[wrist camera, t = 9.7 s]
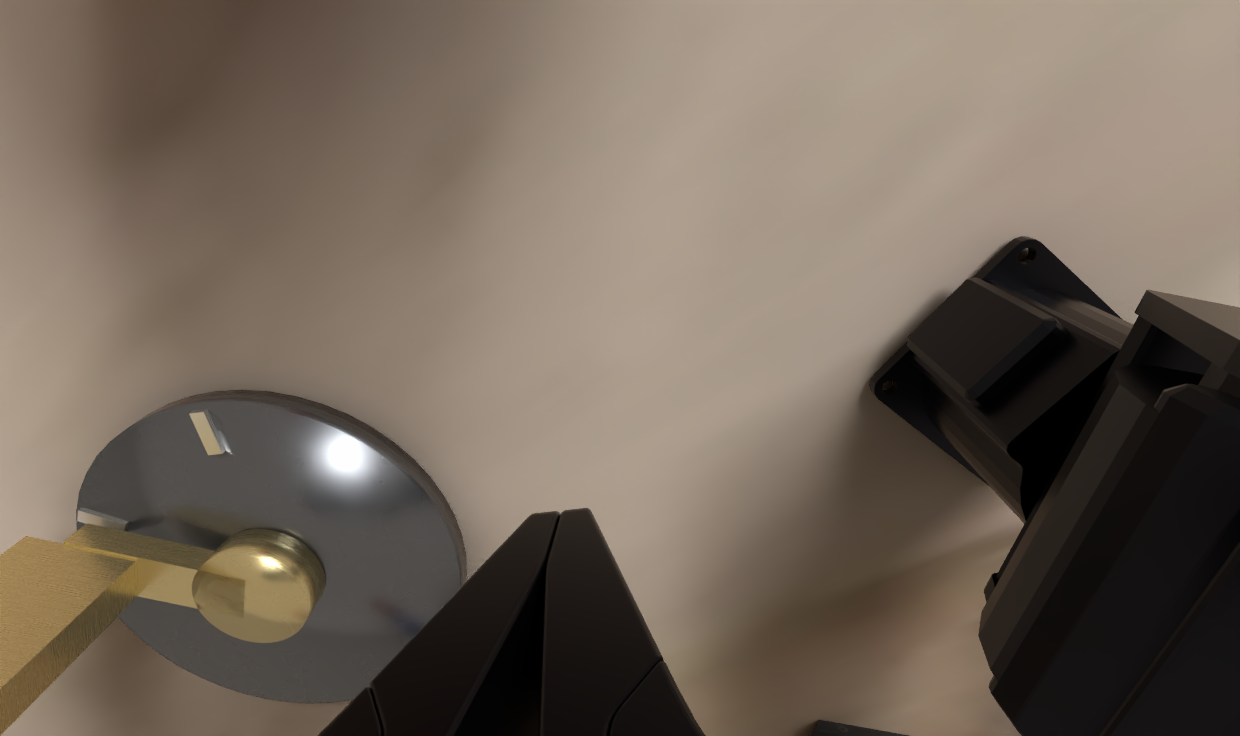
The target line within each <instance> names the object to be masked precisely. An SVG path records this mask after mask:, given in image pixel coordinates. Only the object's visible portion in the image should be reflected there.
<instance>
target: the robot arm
mask: <svg viewBox="0 0 1240 736" xmlns="http://www.w3.org/2000/svg"><path fill="white" fill-rule="evenodd" d="M1025 248H1028V254H1027V256H1026V257H1025V258H1024V259H1023V260H1021V261H1019V260H1018V257H1019V254H1020V252H1021V251H1022V250H1023V249H1025ZM1135 313H1136V314H1137V315H1139V316H1138V318H1137V320H1136V322H1135V324H1134V325H1133V324H1131V323H1128V322H1126V321H1124V320H1123V319H1121V318H1120V317H1119V316H1118V315H1117V314H1116V313H1115V312H1114V311H1113V310H1112V309H1111V308H1110V307H1109V306H1108V305H1107V304H1106V303H1105V302H1103V301H1102V300H1101V299H1100V298H1099V297H1098V296H1097V295H1096V294H1095V293H1094V292H1093V291H1092V290H1091V289H1090V288H1089V287H1088V286H1087V285H1086V284H1084V283H1083V282H1082V281H1081V280H1080V279H1079V278H1078V277H1077V276H1076V275H1075V274H1074V273H1073V272H1072V271H1071V270H1070V269H1069V268H1068V267H1066V266H1065V265H1064V264H1063V263H1062V262H1061V261H1060V260H1059V259H1058V258H1057V257H1056V256H1055V255H1054V254H1053V253H1052V252H1051V251H1050V250H1048V249H1047V248H1046V247H1045V246H1044V245H1043V244H1042V243H1041V242H1039V241H1037V240H1036V239H1033V238H1030V237H1023V236H1021V237H1018V238H1015V239H1013V240H1012V241H1011V242H1009V243H1008V244H1007V245H1006V246H1005V247H1004V248H1003V249H1002V250H1001V251H1000V252H999V253H998V254H997V255H996V256H995V257H994V258H993V259H992V260H991V261H990V262H989V263H988V264H987V265H986V266H985V267H984V268H983V269H982V270H981V271H980V272H978V273H977V274H976V275H975V276H974V277H973V278H972V279H968V280H966V281H965V282H964V283H963V284H962V285H961V286H960V287H959V288H958V289H957V290H956V291H955V292H954V293H953V294H952V295H950V296H949V297H948V298H947V299H946V300H945V301H944V302H943V303H942V304H941V305H940V306H939V307H938V308H937V309H936V310H935V311H934V312H933V313H932V314H931V315H930V316H929V317H928V318H927V319H926V320H925V321H924V322H923V323H922V324H921V325H920V326H919V327H918V328H917V329H916V330H915V331H914V332H913V333H912V334H911V335H910V336H909V337H908V342H907V343H906V344H905V345H904V346H903V347H902V348H901V349H900V350H899V351H898V352H897V353H896V354H895V355H894V356H893V357H892V358H891V359H890V360H889V361H888V362H887V363H886V364H885V365H884V366H883V367H881V368H880V369H879V370H878V371H877V372H876V373H875V374H874V376H873V377H872V378H871V381H870V389H871V391H872V392H873V393H874V394H875V396H876V397H877V398H878V399H879V400H880V401H881V402H883V403H884V404H885V405H886V406H888V407H889V408H890V409H892V410H893V411H894V412H895V413H897V414H898V415H899V416H901V417H902V418H903V419H904V420H906V421H907V422H908V423H909V424H911V425H912V426H913V427H915V428H916V429H917V430H918V431H920V432H921V433H922V434H924V435H925V436H926V437H927V438H929V439H930V440H931V441H932V442H934V443H935V444H936V445H938V446H939V447H940V448H941V449H943V450H944V451H945V452H947V453H948V454H949V455H950V456H952V457H953V458H954V459H955V460H957V461H958V462H959V463H961V464H962V465H963V466H964V467H966V468H967V469H968V470H969V471H971V472H972V473H973V474H975V475H976V476H977V477H978V478H980V479H981V480H982V481H984V482H985V483H986V484H987V485H989V486H990V487H991V488H992V489H993V490H994V491H995V492H996V493H997V494H998V496H999V497H1000V498H1001V499H1002V500H1003V501H1004V502H1005V503H1006V504H1007V505H1008V506H1009V508H1010V509H1011V510H1012V511H1013V512H1014V513H1015V514H1016V515H1017V516H1018V517H1019V518H1020V519H1021V521H1022V522H1023V523H1024V526H1023V528H1022V530H1021V532H1020V534H1019V535H1018V537H1017V539H1016V541H1015V543H1014V544H1013V546H1012V548H1011V550H1010V552H1009V554H1008V555H1007V557H1006V559H1005V561H1004V563H1003V565H1002V566H1001V568H1000V570H999V572H998V573H994V574H992V575H991V577H990V579H989V581H988V583H987V585H986V587H985V588H984V594H985V598H986V602H987V603H986V605H985V607H984V608H983V610H982V613H981V620H980V628H979V635H978V636H979V639H980V642H981V644H982V647H983V650H984V653H985V656H986V659H987V661H988V664H989V667H990V670H991V671H992V673H993V675H994V676H993V678H992V679H991V681H990V684H989V689H990V691H991V694H992V695H993V697H994V698H995V700H996V702H997V703H998V704H999V706H1000V707H1001V708H1002V710H1003V711H1004V713H1005V714H1006V715H1007V717H1008V718H1009V719H1010V721H1011V722H1012V724H1013V725H1014V726H1015V728H1016V729H1017V730H1018V732H1019V733H1020V734H1021V735H1022V736H1240V308H1239V307H1234V306H1229V305H1223V304H1218V303H1213V302H1208V301H1203V300H1198V299H1193V298H1188V297H1183V296H1178V295H1173V294H1167V293H1162V292H1157V291H1152V290H1146V292H1145V294H1144V296H1143V298H1142V300H1141V301H1140V303H1139V305H1138V307H1137V309H1136V311H1135ZM887 381H893V384H892V386H891V387H890V388H888V389H886V390H882V386H883V384H884V383H886V382H887ZM370 688H371V689H370ZM318 736H705V734H704V733H703V731H702V730H701V728H700V727H699V725H698V723H697V722H696V720H695V719H694V717H693V715H692V713H691V711H690V709H689V707H688V706H687V704H686V702H685V700H684V698H683V696H682V694H681V693H680V691H679V689H678V687H677V685H676V683H675V681H674V679H673V677H672V675H671V673H670V671H669V669H668V667H667V665H666V663H665V662H664V660H663V657H662V655H661V653H660V651H659V649H658V647H657V645H656V643H655V641H654V639H653V637H652V635H651V633H650V631H649V629H648V627H647V625H646V623H645V620H644V618H643V616H642V614H641V612H640V610H639V608H638V606H637V604H636V602H635V600H634V598H633V596H632V594H631V592H630V590H629V588H628V586H627V584H626V581H625V579H624V577H623V575H622V573H621V571H620V569H619V567H618V565H617V563H616V561H615V559H614V557H613V555H612V553H611V551H610V549H609V547H608V545H607V543H606V540H605V538H604V536H603V534H602V532H601V530H600V528H599V526H598V524H597V522H596V520H595V518H594V516H593V514H592V512H591V510H590V509H588V508H582V509H572V510H565V511H563V512H562V513H561V514H560V513H559V512H557V511H553V512H543V513H534V514H532V515H530V516H529V517H528V518H527V519H526V520H525V521H524V522H523V523H522V524H521V525H520V526H519V527H518V528H517V529H516V531H515V532H514V533H513V534H512V535H511V536H510V537H509V538H508V539H507V540H506V541H505V542H504V543H503V544H502V545H501V546H500V547H499V548H498V549H497V550H496V551H495V552H494V553H493V555H492V556H491V557H490V558H489V559H488V560H487V561H486V562H485V563H484V564H483V565H482V566H481V567H480V568H479V569H478V570H477V571H476V572H475V573H474V574H473V575H472V576H471V577H470V579H469V580H468V581H467V582H466V583H465V584H464V585H463V586H462V587H461V588H460V589H459V590H458V591H457V592H456V593H455V594H454V595H453V596H452V597H451V598H450V599H449V600H448V601H447V603H446V604H445V605H444V606H443V607H442V608H441V609H440V610H439V611H438V612H437V613H436V614H435V615H434V616H433V617H432V618H431V619H430V620H429V621H428V622H427V623H426V624H425V625H424V627H423V628H422V629H421V630H420V631H419V632H418V633H417V634H416V635H415V636H414V637H413V638H412V639H411V640H410V641H409V642H408V643H407V644H406V645H405V646H404V647H403V648H402V649H401V650H400V652H399V653H398V654H397V655H396V656H395V657H394V658H393V659H392V660H391V661H390V662H389V663H388V664H387V665H386V666H385V667H384V668H383V669H382V670H381V671H380V672H379V673H378V674H377V676H376V677H375V678H374V679H373V680H372V681H371V682H370V687H365V688H364V689H363V690H362V691H361V692H360V693H359V694H358V695H357V696H356V697H355V698H354V699H353V700H352V701H351V702H350V703H349V704H348V705H347V707H346V708H345V709H344V710H343V711H342V712H341V713H340V714H339V715H338V716H337V717H336V718H335V719H334V720H333V721H332V722H331V723H330V724H329V725H328V726H327V727H326V728H325V729H324V730H323V731H322V732H321V733H320V734H319V735H318Z"/></svg>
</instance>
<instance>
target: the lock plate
mask: <svg viewBox="0 0 1240 736" xmlns="http://www.w3.org/2000/svg"><path fill="white" fill-rule="evenodd" d="M76 513H77V531H78V530H79V529H80V528H82V527H83V526H84V525H85V524H87V523H89V524H93V525H98V526H103V527H107V528H112V529H116V530H121V531H126V532H130V533H135V534H140V535H144V536H149V537H154V538H158V539H163V540H168V541H172V542H177V543H182V544H186V545H191V546H196V547H200V548H205V549H210V550H214V551H216V550H217V549H218V548H219V547H220V545H221V544H222V543H223V542H224V541H225V540H226V539H227V538H229V537H230V536H232V535H234V534H236V533H238V532H241V531H245V530H251V529H266V530H272V531H276V532H280V533H283V534H286V535H288V536H290V537H292V538H294V539H296V540H298V541H299V542H301V543H302V544H304V545H305V546H306V547H308V548H309V549H310V550H311V551H312V552H313V553H314V555H315V556H316V557H317V558H318V560H319V561H320V563H321V565H322V567H323V570H324V573H325V589H324V592H323V594H322V596H321V598H320V599H319V601H318V602H317V604H316V606H315V607H314V609H313V610H312V612H311V614H310V615H309V617H308V619H307V620H306V622H305V623H304V625H303V627H302V628H301V629H300V630H299V631H298V632H297V633H296V634H294V635H293V636H291V637H289V638H287V639H285V640H282V641H278V642H272V643H255V642H249V641H245V640H241V639H238V638H235V637H233V636H230V635H228V634H226V633H224V632H222V631H221V630H219V629H218V628H216V627H215V626H213V625H212V624H211V623H210V622H209V621H208V620H207V619H206V618H205V617H204V616H203V615H202V614H201V612H200V611H199V609H197V608H192V607H187V606H182V605H177V604H172V603H168V602H163V601H158V600H153V599H148V598H143V597H138V596H137V597H136V598H135V599H134V600H133V601H132V602H131V603H130V604H129V605H128V606H127V607H126V608H125V609H124V610H123V611H122V612H121V613H120V614H119V615H118V617H119V618H120V619H121V620H122V622H123V623H124V624H125V625H126V626H127V627H128V628H129V629H130V630H132V631H133V632H134V633H135V634H136V635H137V636H138V637H139V638H140V639H141V640H142V641H144V642H145V643H146V644H148V645H149V646H150V647H151V648H153V649H154V650H155V651H157V652H158V653H159V654H161V655H162V656H164V657H165V658H167V659H169V660H170V661H172V662H173V663H175V664H176V665H178V666H180V667H181V668H183V669H185V670H187V671H189V672H191V673H193V674H195V675H197V676H199V677H201V678H203V679H205V680H208V681H210V682H213V683H215V684H217V685H220V686H222V687H225V688H229V689H232V690H235V691H238V692H241V693H244V694H248V695H253V696H257V697H261V698H265V699H272V700H279V701H285V702H299V703H328V702H338V701H346V700H353V699H354V698H355V697H356V696H357V695H358V694H359V693H360V692H361V691H362V690H363V689H364V688H365V687H370V682H371V681H372V680H373V679H374V678H375V677H376V676H377V674H378V673H379V672H380V671H381V670H382V669H383V668H384V667H385V666H386V665H387V664H388V663H389V662H390V661H391V660H392V659H393V658H394V657H395V656H396V655H397V654H398V653H399V652H400V650H401V649H402V648H403V647H404V646H405V645H406V644H407V643H408V642H409V641H410V640H411V639H412V638H413V637H414V636H415V635H416V634H417V633H418V632H419V631H420V630H421V629H422V628H423V627H424V625H425V624H426V623H427V622H428V621H429V620H430V619H431V618H432V617H433V616H434V615H435V614H436V613H437V612H438V611H439V610H440V609H441V608H442V607H443V606H444V605H445V604H446V603H447V601H448V600H449V599H450V598H451V597H452V596H453V595H454V594H455V593H456V592H457V591H458V590H459V589H460V588H461V587H462V586H463V585H464V584H465V583H466V575H467V567H466V552H465V548H464V543H463V538H462V534H461V531H460V529H459V526H458V523H457V521H456V518H455V515H454V514H453V512H452V510H451V508H450V506H449V504H448V502H447V501H446V499H445V497H444V495H443V494H442V493H441V491H440V490H439V488H438V487H437V486H436V484H435V483H434V482H433V480H432V479H431V477H430V476H429V475H428V474H427V473H426V472H425V471H424V470H423V469H422V468H421V467H420V466H419V464H418V463H417V462H416V461H415V460H414V459H413V458H412V457H410V456H409V455H408V454H407V453H406V452H405V451H403V450H402V449H401V448H400V447H399V446H398V445H396V444H395V443H394V442H393V441H391V440H390V439H388V438H387V437H385V436H384V435H382V434H381V433H379V432H378V431H376V430H375V429H374V428H372V427H370V426H368V425H366V424H365V423H363V422H361V421H359V420H357V419H355V418H353V417H352V416H350V415H348V414H345V413H343V412H340V411H338V410H336V409H333V408H331V407H328V406H326V405H323V404H320V403H317V402H313V401H310V400H306V399H303V398H300V397H296V396H291V395H285V394H279V393H274V392H267V391H251V390H233V391H216V392H210V393H205V394H200V395H195V396H190V397H187V398H184V399H181V400H178V401H175V402H172V403H170V404H168V405H166V406H164V407H162V408H160V409H158V410H156V411H154V412H152V413H150V414H148V415H147V416H145V417H144V418H142V419H141V420H139V421H138V422H136V423H135V424H133V425H132V426H130V427H129V428H127V429H126V430H125V431H123V432H122V433H121V434H119V435H118V436H117V437H115V438H114V439H113V440H112V441H110V443H109V444H108V445H107V446H106V447H105V448H104V449H103V450H102V451H101V452H100V453H99V454H98V456H97V457H96V458H95V460H94V462H93V463H92V465H91V467H90V468H89V470H88V471H87V473H86V476H85V478H84V481H83V484H82V486H81V489H80V492H79V498H78V504H77V510H76ZM370 689H371V688H370Z"/></svg>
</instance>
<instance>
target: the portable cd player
mask: <svg viewBox="0 0 1240 736" xmlns="http://www.w3.org/2000/svg"><path fill="white" fill-rule="evenodd" d="M811 736H908V735H902V734H897V733H891V732H885V731H880V730H874V729H868V728H863V727H857V726H851V725H846V724H840V723H834V722H829V721H823V720H819V722H818V724H817V726H816V728H815V730H814V731H813V733H812V735H811Z"/></svg>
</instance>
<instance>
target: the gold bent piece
mask: <svg viewBox="0 0 1240 736" xmlns="http://www.w3.org/2000/svg"><path fill="white" fill-rule="evenodd" d="M324 589H325V573H324V570H323V567H322V565H321V563H320V561H319V560H318V558H317V557H316V556H315V555H314V553H313V552H312V551H311V550H310V549H309V548H308V547H306V546H305V545H304V544H302V543H301V542H299V541H298V540H296V539H294V538H292V537H290V536H288V535H286V534H283V533H280V532H276V531H272V530H266V529H251V530H245V531H241V532H238V533H236V534H234V535H232V536H230V537H229V538H227V539H226V540H225V541H224V542H223V543H222V544H221V545H220V547H219V548H218V549H217V550H216V551H214V550H210V549H205V548H200V547H196V546H191V545H186V544H182V543H177V542H172V541H168V540H163V539H158V538H154V537H149V536H144V535H140V534H135V533H130V532H126V531H121V530H116V529H112V528H107V527H103V526H98V525H93V524H89V523H87V524H85V525H84V526H83V527H82V528H80V529H79V530H78V531H76V532H75V533H74V534H73V535H71V536H70V537H69V538H68V539H66V540H65V541H64V544H61V543H56V542H52V541H47V540H42V539H37V538H33V537H28V536H26V537H24V538H23V539H22V540H20V541H19V542H18V543H16V544H15V545H14V546H12V547H11V548H9V549H8V550H7V551H5V552H4V553H3V554H1V555H0V735H1V734H2V733H3V732H4V731H5V730H6V729H7V728H8V727H9V726H10V725H11V724H12V723H13V722H14V721H15V720H16V719H17V718H18V717H19V716H20V715H21V714H22V713H23V712H24V711H25V710H26V709H27V708H28V707H29V706H30V705H31V704H32V703H33V702H34V701H35V700H36V699H37V698H38V697H39V696H40V695H41V694H42V693H43V692H44V691H45V690H46V689H47V688H48V687H49V686H50V685H51V684H52V683H53V681H54V680H55V679H56V678H57V677H58V676H59V675H60V674H61V673H62V672H63V671H64V670H65V669H66V668H67V667H68V666H69V665H70V664H71V663H72V662H73V661H74V660H75V659H76V658H77V657H78V656H79V655H80V654H81V653H82V652H83V651H84V650H85V649H86V648H87V647H88V646H89V645H90V644H91V643H92V642H93V641H94V640H95V639H96V638H97V637H98V636H99V635H100V634H101V633H102V632H103V631H104V630H105V629H106V628H107V627H108V626H109V625H110V624H111V623H112V622H113V620H114V619H115V618H116V617H117V616H118V615H119V614H120V613H121V612H122V611H123V610H124V609H125V608H126V607H127V606H128V605H129V604H130V603H131V602H132V601H133V600H134V599H135V598H136V597H137V596H138V597H143V598H148V599H153V600H158V601H163V602H168V603H172V604H177V605H182V606H187V607H192V608H197V609H199V611H200V612H201V614H202V615H203V616H204V617H205V618H206V619H207V620H208V621H209V622H210V623H211V624H212V625H213V626H215V627H216V628H218V629H219V630H221V631H222V632H224V633H226V634H228V635H230V636H233V637H235V638H238V639H241V640H245V641H249V642H255V643H272V642H278V641H282V640H285V639H287V638H289V637H291V636H293V635H294V634H296V633H297V632H298V631H299V630H300V629H301V628H302V627H303V625H304V623H305V622H306V620H307V619H308V617H309V615H310V614H311V612H312V610H313V609H314V607H315V606H316V604H317V602H318V601H319V599H320V598H321V596H322V594H323V592H324Z"/></svg>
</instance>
